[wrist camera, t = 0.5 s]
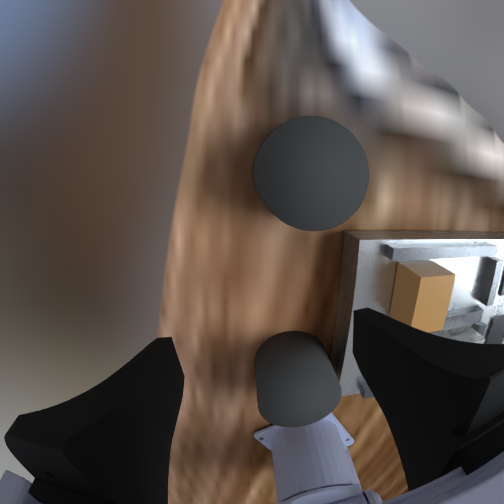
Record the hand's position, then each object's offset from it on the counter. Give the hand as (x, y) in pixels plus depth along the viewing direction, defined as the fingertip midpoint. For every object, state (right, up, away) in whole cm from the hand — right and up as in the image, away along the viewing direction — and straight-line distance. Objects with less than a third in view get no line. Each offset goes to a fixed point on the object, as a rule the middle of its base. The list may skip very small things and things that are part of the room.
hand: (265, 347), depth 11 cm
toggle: (+11, +1, +7) cm, 13 cm away
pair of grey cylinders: (+3, +2, +10) cm, 11 cm away
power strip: (+19, -1, +12) cm, 22 cm away
